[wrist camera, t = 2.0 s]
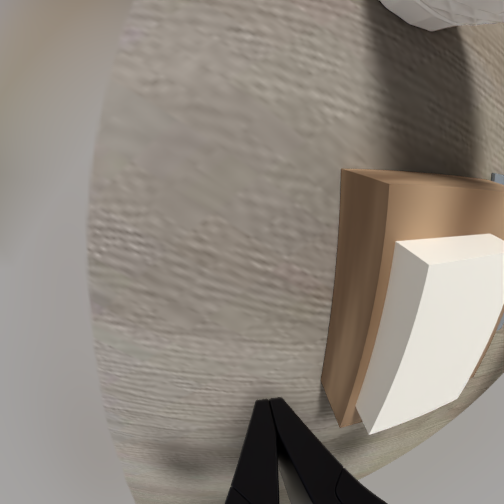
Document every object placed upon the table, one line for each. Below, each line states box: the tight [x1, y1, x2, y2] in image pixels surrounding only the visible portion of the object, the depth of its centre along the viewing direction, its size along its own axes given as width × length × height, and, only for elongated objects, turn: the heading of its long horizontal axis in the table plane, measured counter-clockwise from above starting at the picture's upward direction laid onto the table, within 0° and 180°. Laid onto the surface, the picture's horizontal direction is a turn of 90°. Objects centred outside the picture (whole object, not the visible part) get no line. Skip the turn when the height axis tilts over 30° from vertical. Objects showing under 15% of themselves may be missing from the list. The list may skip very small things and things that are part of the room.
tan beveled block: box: [321, 169, 504, 428], centre depth 13 cm, size 11×13×4 cm
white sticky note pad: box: [356, 234, 504, 435], centre depth 10 cm, size 6×9×2 cm, turn 3°
